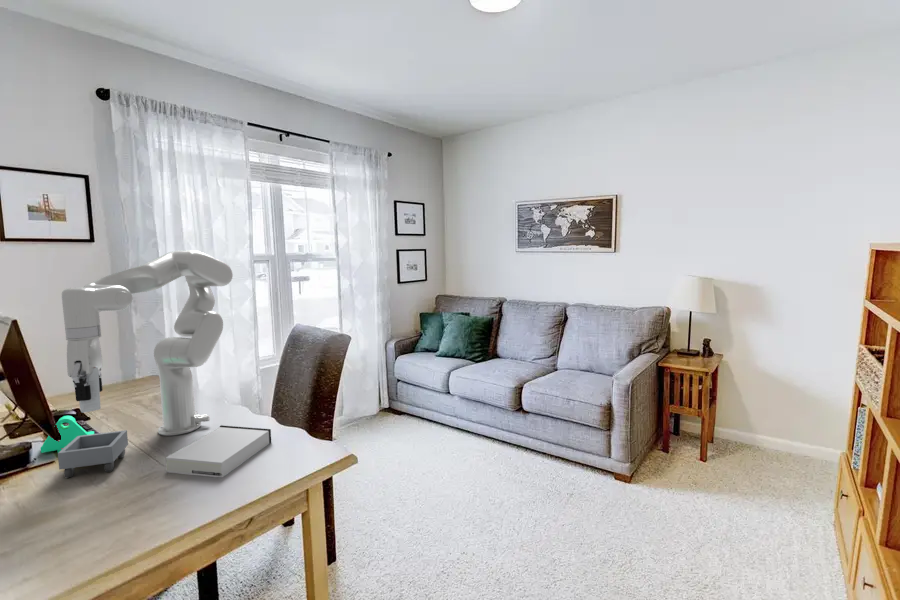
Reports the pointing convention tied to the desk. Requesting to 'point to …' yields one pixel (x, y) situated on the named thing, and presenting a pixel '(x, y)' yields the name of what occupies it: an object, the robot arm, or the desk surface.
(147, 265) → the robot arm
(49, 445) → the camera mount
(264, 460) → the desk surface
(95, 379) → the skincare box
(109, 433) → the grey square tray
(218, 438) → the disc drive
